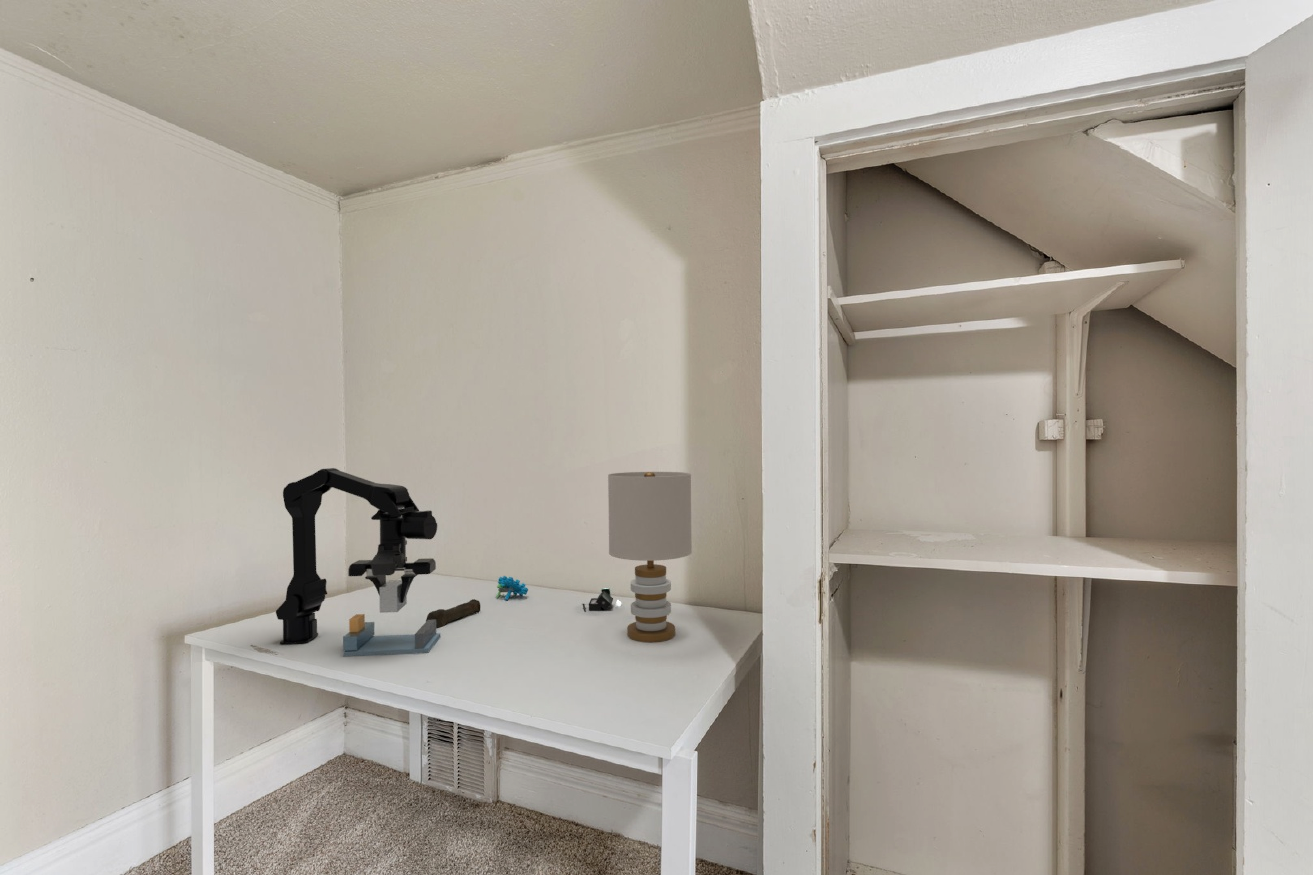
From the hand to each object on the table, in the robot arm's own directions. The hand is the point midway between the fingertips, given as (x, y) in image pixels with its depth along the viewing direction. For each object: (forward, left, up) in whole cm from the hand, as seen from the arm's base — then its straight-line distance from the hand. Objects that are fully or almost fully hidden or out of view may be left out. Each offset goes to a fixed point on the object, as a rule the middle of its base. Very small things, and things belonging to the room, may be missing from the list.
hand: (393, 602), depth 145 cm
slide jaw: (-8, 0, -9) cm, 12 cm away
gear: (+22, +42, -11) cm, 48 cm away
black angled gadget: (+50, +26, -11) cm, 57 cm away
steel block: (0, 0, -1) cm, 1 cm away
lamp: (+63, +1, -11) cm, 63 cm away
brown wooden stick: (+10, +19, -11) cm, 24 cm away
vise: (0, 0, -11) cm, 11 cm away
